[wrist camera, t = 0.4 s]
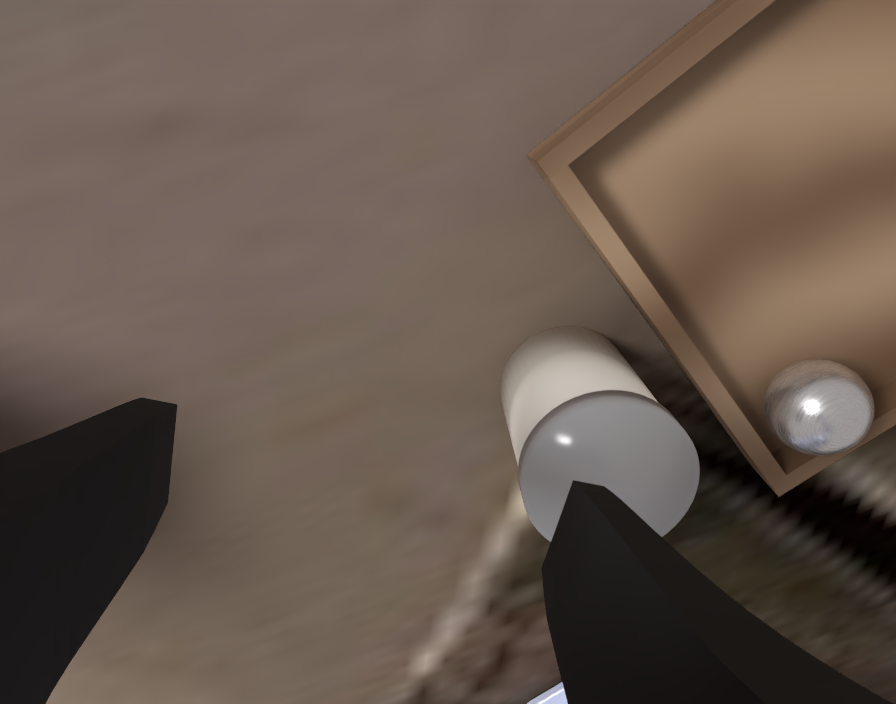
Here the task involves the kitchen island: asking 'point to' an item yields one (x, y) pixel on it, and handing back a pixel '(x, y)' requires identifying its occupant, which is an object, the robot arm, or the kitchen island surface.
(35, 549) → the robot arm
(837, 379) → the steel ball
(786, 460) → the tray
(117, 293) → the kitchen island surface
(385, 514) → the kitchen island surface
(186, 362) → the kitchen island surface
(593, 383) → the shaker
